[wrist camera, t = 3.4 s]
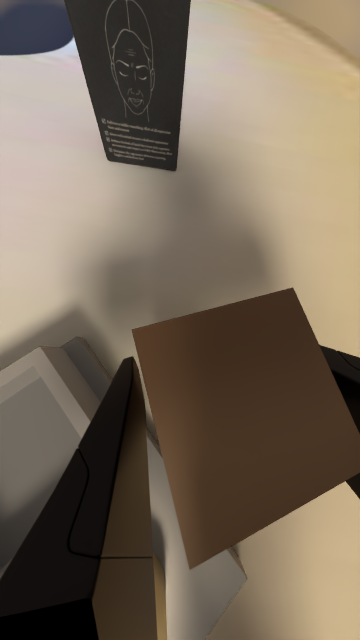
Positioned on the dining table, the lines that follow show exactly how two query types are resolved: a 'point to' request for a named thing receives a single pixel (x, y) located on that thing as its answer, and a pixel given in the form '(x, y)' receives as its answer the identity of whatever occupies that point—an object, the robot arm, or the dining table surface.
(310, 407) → the wooden block
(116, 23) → the box
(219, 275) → the dining table surface
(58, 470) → the housing
